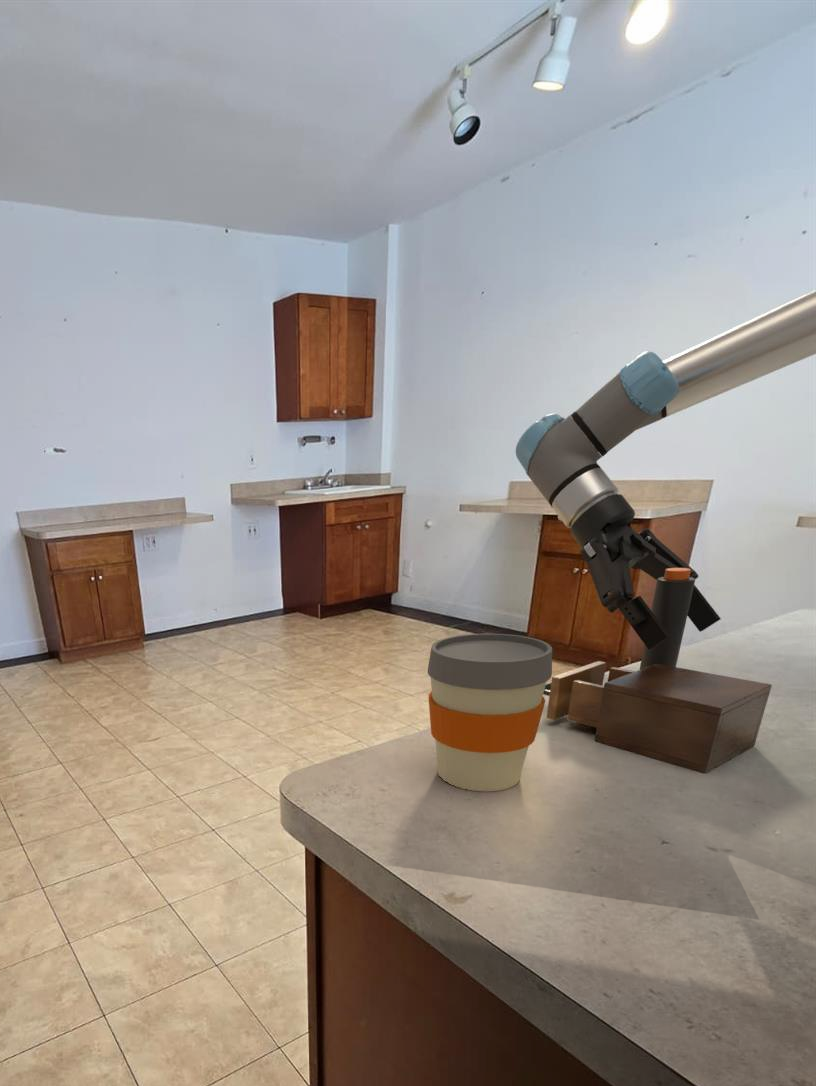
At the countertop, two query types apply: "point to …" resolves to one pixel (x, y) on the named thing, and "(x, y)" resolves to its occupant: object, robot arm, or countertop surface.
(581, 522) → the robot arm
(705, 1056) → the countertop surface
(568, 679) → the drawer
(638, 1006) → the countertop surface
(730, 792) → the countertop surface
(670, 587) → the spray can
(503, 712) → the reusable coffee cup
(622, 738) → the cabinet
